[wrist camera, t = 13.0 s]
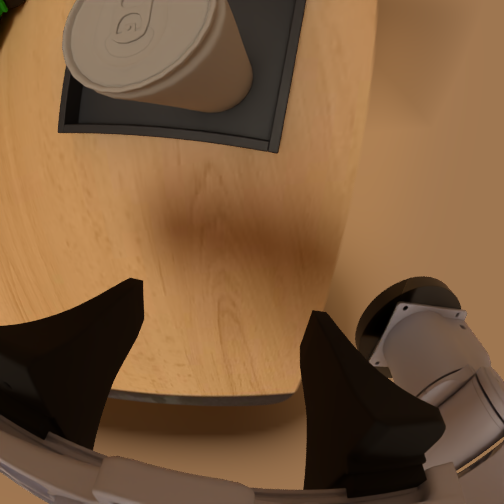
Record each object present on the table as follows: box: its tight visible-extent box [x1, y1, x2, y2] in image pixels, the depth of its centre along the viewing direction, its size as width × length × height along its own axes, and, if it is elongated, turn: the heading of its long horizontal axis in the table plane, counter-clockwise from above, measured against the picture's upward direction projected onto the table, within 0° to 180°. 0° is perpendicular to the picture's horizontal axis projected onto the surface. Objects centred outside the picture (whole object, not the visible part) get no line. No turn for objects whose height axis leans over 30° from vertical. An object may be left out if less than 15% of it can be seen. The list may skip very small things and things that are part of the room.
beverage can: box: [62, 0, 253, 113], centre depth 11 cm, size 5×5×12 cm
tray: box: [58, 0, 306, 153], centre depth 14 cm, size 15×15×2 cm
